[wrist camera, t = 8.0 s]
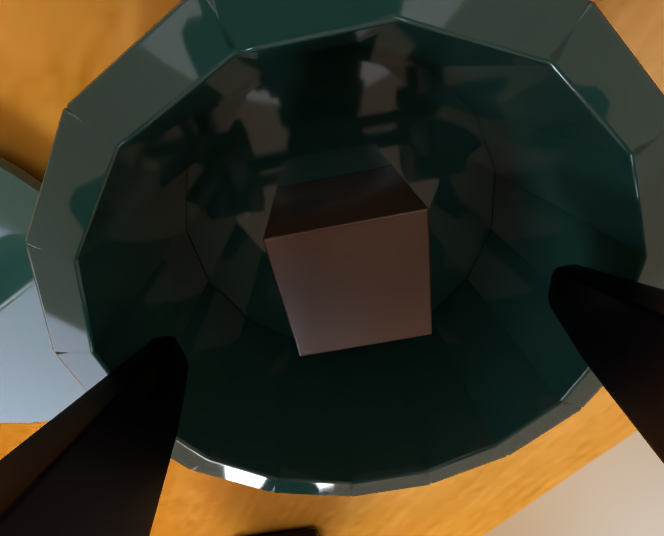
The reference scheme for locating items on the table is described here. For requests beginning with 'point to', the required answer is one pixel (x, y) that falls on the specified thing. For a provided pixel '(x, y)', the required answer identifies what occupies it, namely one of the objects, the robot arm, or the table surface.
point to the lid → (25, 316)
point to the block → (351, 260)
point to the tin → (335, 160)
